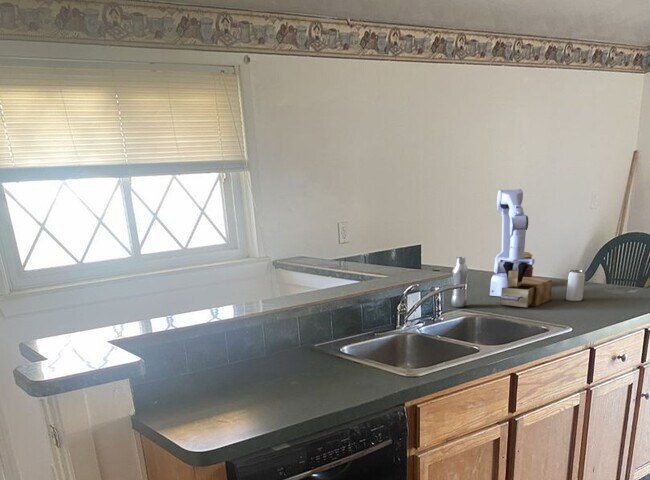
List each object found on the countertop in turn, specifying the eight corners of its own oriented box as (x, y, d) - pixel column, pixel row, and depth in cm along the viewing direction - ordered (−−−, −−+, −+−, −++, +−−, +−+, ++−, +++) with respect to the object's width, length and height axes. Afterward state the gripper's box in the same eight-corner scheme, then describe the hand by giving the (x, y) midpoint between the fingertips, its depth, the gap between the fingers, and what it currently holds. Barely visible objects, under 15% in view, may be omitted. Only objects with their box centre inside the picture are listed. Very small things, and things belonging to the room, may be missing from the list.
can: (579, 298, 277) (583, 269, 273) (584, 301, 271) (587, 272, 267) (564, 298, 278) (567, 270, 273) (567, 301, 272) (571, 272, 267)
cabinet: (536, 306, 267) (538, 284, 264) (507, 302, 275) (508, 282, 271) (550, 299, 277) (552, 279, 274) (522, 296, 285) (523, 276, 282)
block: (507, 285, 266) (508, 270, 264) (511, 284, 269) (513, 269, 267) (516, 286, 264) (517, 271, 262) (521, 285, 267) (522, 270, 264)
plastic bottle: (468, 305, 273) (470, 256, 265) (464, 309, 267) (466, 259, 259) (453, 304, 275) (455, 256, 268) (449, 308, 270) (450, 258, 262)
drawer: (522, 309, 259) (523, 292, 256) (495, 306, 265) (496, 289, 263) (540, 301, 271) (542, 284, 269) (514, 298, 278) (516, 282, 275)
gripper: (495, 247, 262) (493, 281, 268) (530, 249, 253) (527, 284, 259) (503, 245, 267) (501, 278, 272) (537, 247, 258) (534, 281, 264)
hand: (514, 281), depth 266 cm, fingers closed on block, 4 cm apart
